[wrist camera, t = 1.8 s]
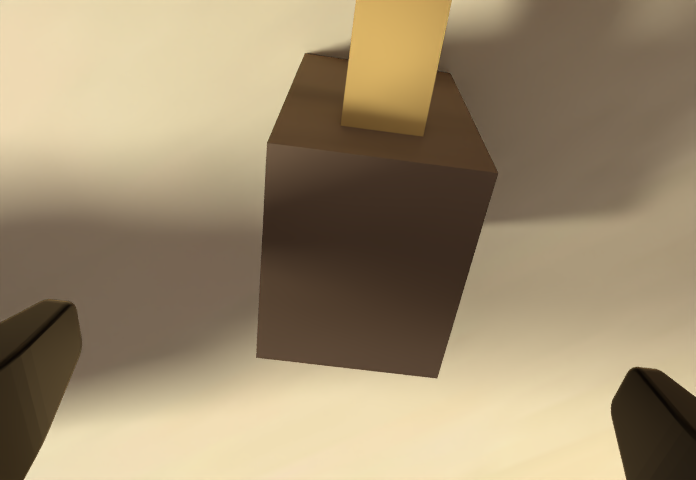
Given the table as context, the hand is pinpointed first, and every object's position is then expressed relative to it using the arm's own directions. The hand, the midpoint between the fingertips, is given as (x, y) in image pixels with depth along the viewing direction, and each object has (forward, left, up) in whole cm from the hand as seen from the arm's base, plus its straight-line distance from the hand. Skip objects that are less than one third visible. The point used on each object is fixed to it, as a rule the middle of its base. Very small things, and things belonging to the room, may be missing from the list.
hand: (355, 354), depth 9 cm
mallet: (+4, 0, -9) cm, 10 cm away
